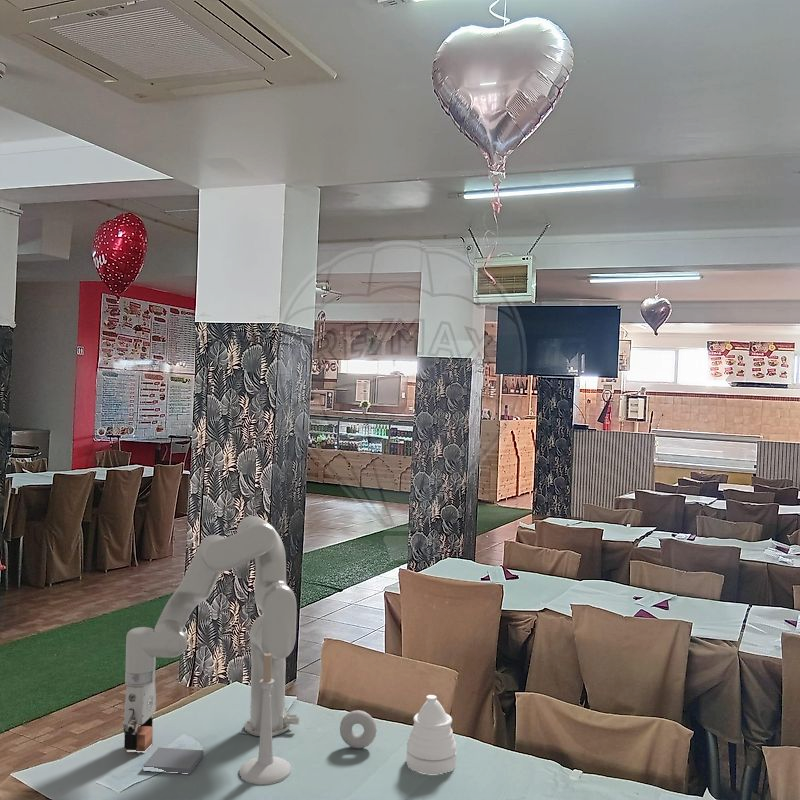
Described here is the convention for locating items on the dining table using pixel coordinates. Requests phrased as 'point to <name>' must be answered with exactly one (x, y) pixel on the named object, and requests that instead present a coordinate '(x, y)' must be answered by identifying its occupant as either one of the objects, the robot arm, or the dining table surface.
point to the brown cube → (144, 737)
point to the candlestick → (266, 741)
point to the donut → (349, 735)
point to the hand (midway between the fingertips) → (138, 740)
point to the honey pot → (431, 740)
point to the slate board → (174, 759)
